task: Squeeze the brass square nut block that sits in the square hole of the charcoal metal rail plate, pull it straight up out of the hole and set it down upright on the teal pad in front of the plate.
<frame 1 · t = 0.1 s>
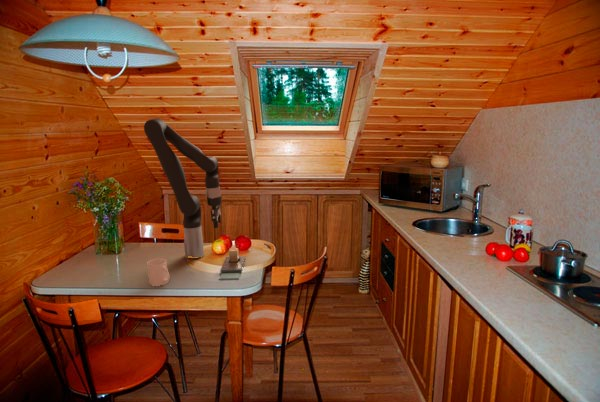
hand: (217, 225, 223), 17 cm above the table, tool pointing down, fingers open, 8 cm apart
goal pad: (230, 276, 202), on the table
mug: (161, 284, 197), on the table
rail plate: (233, 266, 213), on the table
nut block: (234, 264, 216), resting in rail plate
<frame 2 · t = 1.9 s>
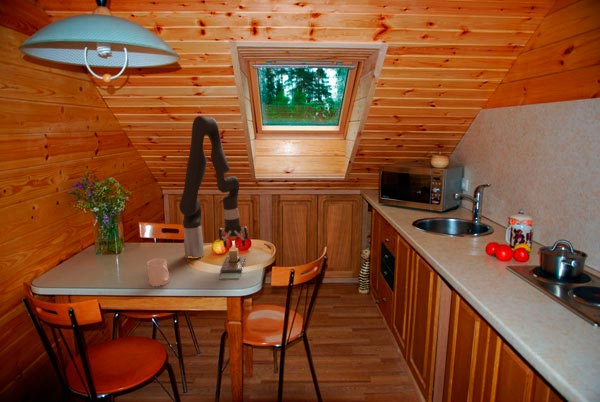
hand: (234, 247, 214), 9 cm above the table, tool pointing down, fingers open, 8 cm apart
nothing on the table moved.
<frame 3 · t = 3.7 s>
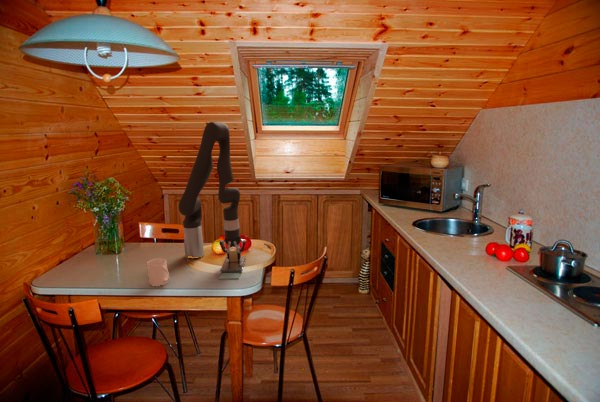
hand: (234, 259, 215), 3 cm above the table, tool pointing down, fingers closed on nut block, 4 cm apart
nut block: (234, 264, 216), resting in rail plate, touching gripper
everything else where it was.
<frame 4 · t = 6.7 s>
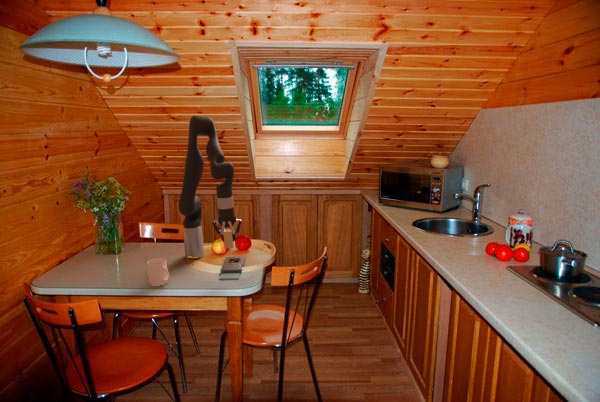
hand: (229, 241, 198), 18 cm above the table, tool pointing down, fingers closed on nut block, 4 cm apart
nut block: (229, 246, 199), point 15 cm above the table, touching gripper
everything else where it was.
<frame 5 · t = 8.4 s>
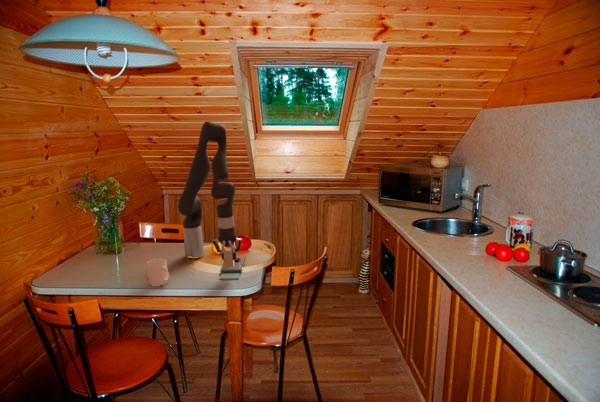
hand: (229, 259, 200), 9 cm above the table, tool pointing down, fingers closed on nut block, 4 cm apart
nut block: (229, 264, 201), point 6 cm above the table, touching gripper
everything else where it was.
when the fingers open (5 cm above the table, at t = 9.9 s): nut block drops 1 cm, resting on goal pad.
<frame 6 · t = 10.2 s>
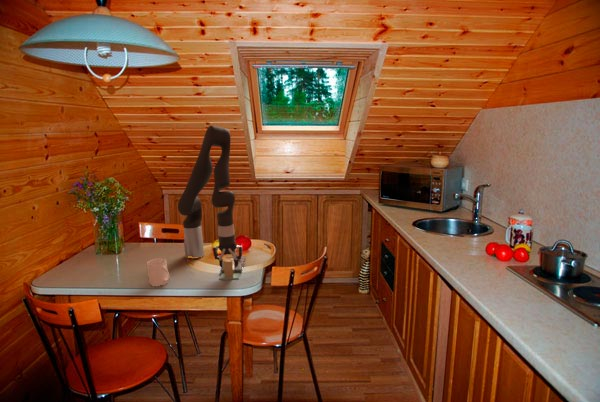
hand: (229, 266, 201), 5 cm above the table, tool pointing down, fingers open, 6 cm apart
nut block: (229, 275, 202), point 1 cm above the table, touching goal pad
everything else where it was.
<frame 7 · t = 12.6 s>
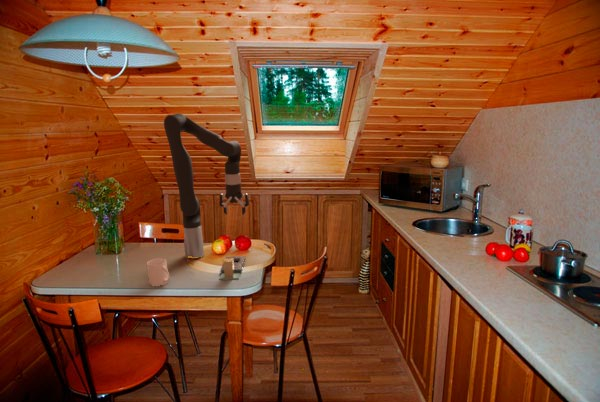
hand: (234, 214, 211), 26 cm above the table, tool pointing down, fingers open, 8 cm apart
nothing on the table moved.
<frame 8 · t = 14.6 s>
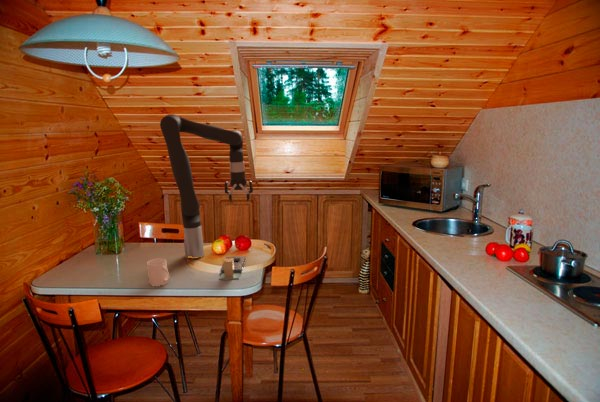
hand: (239, 200, 219), 30 cm above the table, tool pointing down, fingers open, 8 cm apart
nothing on the table moved.
at the end: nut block inside the target area on the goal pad (0.1 cm from its centre), point 0.6 cm above the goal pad's base; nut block tilted 0°; the gripper is holding nothing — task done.
